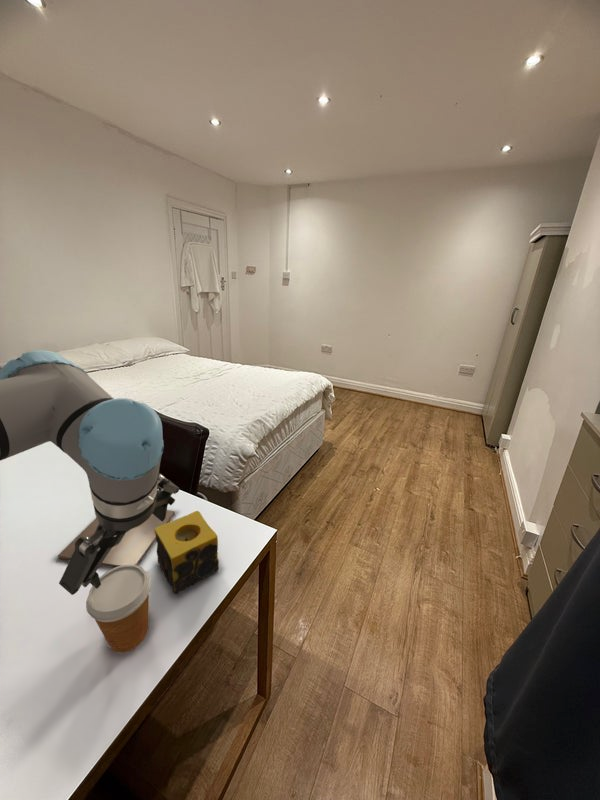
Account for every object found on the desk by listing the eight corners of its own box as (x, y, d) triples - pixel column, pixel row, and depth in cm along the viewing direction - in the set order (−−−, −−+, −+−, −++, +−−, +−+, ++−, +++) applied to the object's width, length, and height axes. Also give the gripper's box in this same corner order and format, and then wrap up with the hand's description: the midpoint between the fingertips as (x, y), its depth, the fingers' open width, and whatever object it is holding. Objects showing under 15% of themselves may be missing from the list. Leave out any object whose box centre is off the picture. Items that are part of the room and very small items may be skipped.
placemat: (58, 558, 71) (57, 555, 71) (112, 504, 88) (112, 502, 87) (133, 570, 69) (133, 568, 69) (174, 513, 86) (174, 511, 86)
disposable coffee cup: (84, 651, 54) (69, 603, 50) (128, 601, 63) (118, 555, 58) (130, 672, 52) (118, 623, 48) (169, 617, 60) (162, 571, 56)
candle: (157, 562, 71) (151, 528, 68) (200, 541, 78) (197, 508, 74) (174, 597, 64) (169, 560, 61) (220, 570, 70) (218, 535, 67)
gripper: (50, 602, 33) (76, 633, 47) (211, 449, 51) (194, 505, 65) (-3, 557, 34) (39, 600, 48) (174, 422, 52) (165, 483, 66)
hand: (128, 545), depth 57 cm, fingers open, 13 cm apart
